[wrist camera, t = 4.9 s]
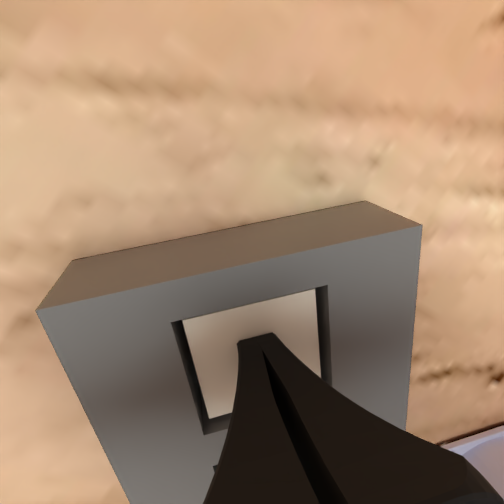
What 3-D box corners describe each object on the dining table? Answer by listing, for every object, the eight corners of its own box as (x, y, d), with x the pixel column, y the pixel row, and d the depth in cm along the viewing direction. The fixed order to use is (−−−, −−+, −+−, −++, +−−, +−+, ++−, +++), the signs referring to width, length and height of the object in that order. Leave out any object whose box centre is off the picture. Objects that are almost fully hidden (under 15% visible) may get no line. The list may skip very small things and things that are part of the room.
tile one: (297, 267, 13) (316, 290, 11) (305, 356, 15) (323, 389, 13) (181, 293, 12) (182, 323, 10) (205, 384, 14) (209, 422, 12)
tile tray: (366, 200, 14) (422, 224, 11) (363, 503, 23) (394, 565, 20) (72, 260, 12) (35, 310, 9) (194, 562, 21) (197, 641, 18)
